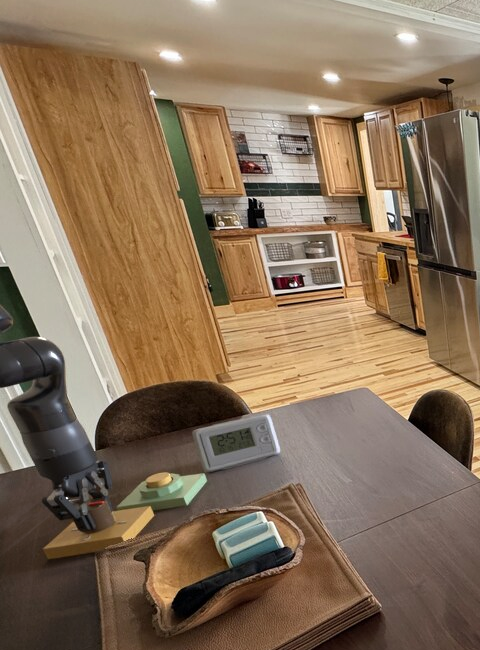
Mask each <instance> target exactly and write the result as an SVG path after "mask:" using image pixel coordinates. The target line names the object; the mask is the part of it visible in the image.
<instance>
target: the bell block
mask: <svg viewBox="0 0 480 650" xmlns="http://www.w3.org/2000/svg"><path fill="white" fill-rule="evenodd" d="M169 474H170V476H171V479H172V482H170V483H169V484H167V485H165V486H161V487H158V488H152V489H150V488H148V485H147V483H146V480H144V481H141V483H140V484H138V485H137V486H136V487H135V489H133V490H132V491H131V492H130V493H129V494H128V495H127V496H126V497H125V498H124V499H123V500H122V501H121V502H120V503H119V504H118V505H116V507H115V508H116V511H119V510H126V509H133V508H140V507H147V506H150V507H151V509H152V511H153V512H154V511H160V510H167V509H173V508H178V507H179V508H180V507H186V506H188V505H189V504H190V503H191V502H192V500H193V499H194V497H196V495H197V494H198V493H199V492H200V490H201V489H202V488H203V486H205V484H206V483H207V482H208V479H207V476H206V475H205V473H196V474H187V475H180V474H178V473H169Z"/></svg>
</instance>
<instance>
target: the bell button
mask: <svg viewBox="0 0 480 650" xmlns="http://www.w3.org/2000/svg"><path fill="white" fill-rule="evenodd" d="M170 474H171V473H169V472H167V471H164V472H158V473H155V474H152V475H150V476H148V477H147V478H146V479H145V481H146V483H147V485H148V488H150V489H152V488H158V487H161V486H165V485H167V484H169V483H170V482H172V479H171V476H170Z"/></svg>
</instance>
